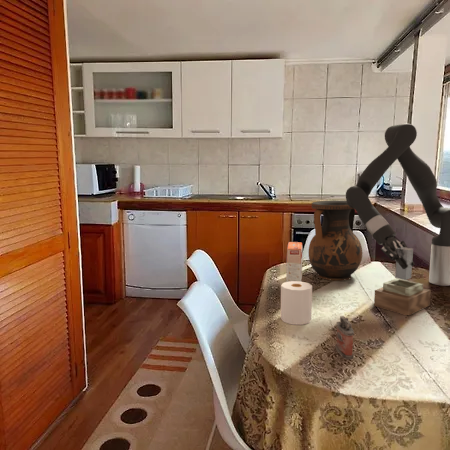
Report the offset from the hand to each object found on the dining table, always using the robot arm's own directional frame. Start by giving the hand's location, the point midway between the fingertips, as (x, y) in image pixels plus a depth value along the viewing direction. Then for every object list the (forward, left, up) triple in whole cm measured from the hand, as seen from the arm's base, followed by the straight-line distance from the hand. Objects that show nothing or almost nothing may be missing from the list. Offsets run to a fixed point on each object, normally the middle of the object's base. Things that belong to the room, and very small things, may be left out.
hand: (409, 266), depth 146 cm
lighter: (+48, +7, -16) cm, 51 cm away
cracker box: (+22, -35, -16) cm, 44 cm away
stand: (0, -2, -15) cm, 15 cm away
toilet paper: (+40, -18, -16) cm, 47 cm away
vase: (-14, -42, -16) cm, 47 cm away
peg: (0, -2, -5) cm, 5 cm away
